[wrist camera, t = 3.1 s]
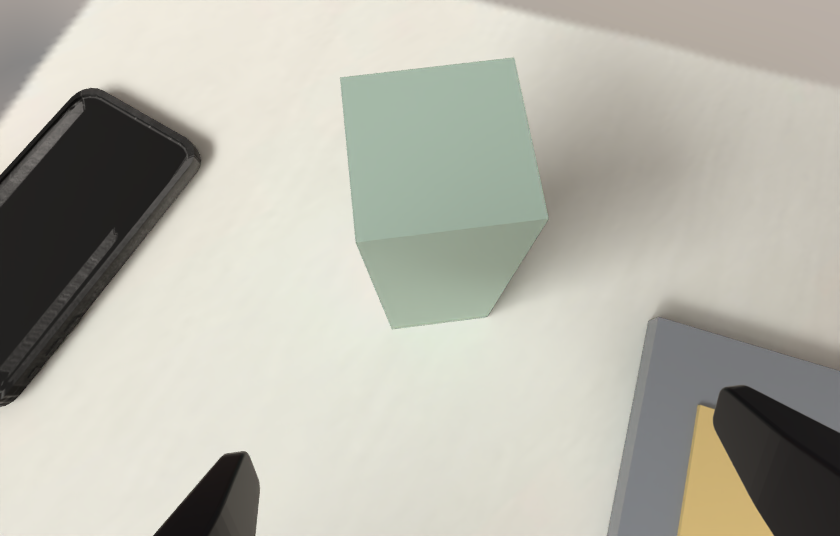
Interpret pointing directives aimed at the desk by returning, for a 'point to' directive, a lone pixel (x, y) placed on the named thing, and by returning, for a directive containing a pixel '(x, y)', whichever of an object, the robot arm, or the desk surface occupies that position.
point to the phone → (77, 220)
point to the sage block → (441, 186)
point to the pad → (702, 431)
